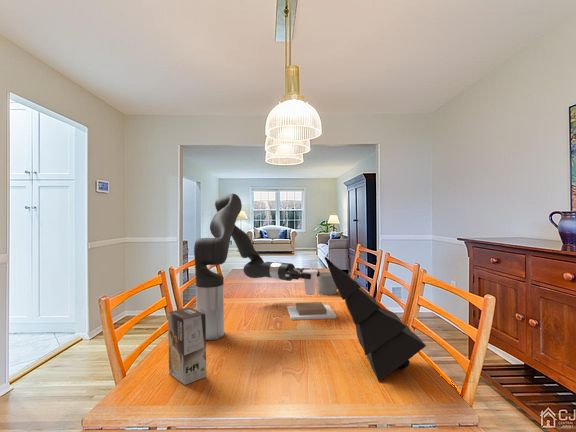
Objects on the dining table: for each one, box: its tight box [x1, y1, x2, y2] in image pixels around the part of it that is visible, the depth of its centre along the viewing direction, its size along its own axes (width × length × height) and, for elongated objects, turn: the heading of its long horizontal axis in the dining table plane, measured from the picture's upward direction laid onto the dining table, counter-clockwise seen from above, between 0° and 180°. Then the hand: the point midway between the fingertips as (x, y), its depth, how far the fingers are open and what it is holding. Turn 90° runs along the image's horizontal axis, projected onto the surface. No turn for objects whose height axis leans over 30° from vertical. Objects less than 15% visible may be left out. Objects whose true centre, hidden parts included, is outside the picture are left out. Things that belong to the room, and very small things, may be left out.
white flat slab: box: [286, 301, 337, 321], centre depth 138 cm, size 16×18×3 cm
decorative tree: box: [324, 256, 427, 382], centre depth 88 cm, size 15×15×35 cm
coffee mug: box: [316, 271, 338, 296], centre depth 173 cm, size 13×10×10 cm
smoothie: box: [303, 260, 319, 296], centre depth 138 cm, size 6×6×14 cm
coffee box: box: [167, 307, 207, 386], centre depth 85 cm, size 9×6×16 cm
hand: (314, 275), depth 136 cm, fingers closed on smoothie, 6 cm apart
